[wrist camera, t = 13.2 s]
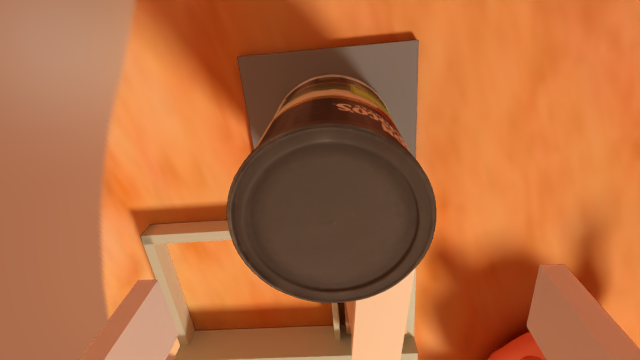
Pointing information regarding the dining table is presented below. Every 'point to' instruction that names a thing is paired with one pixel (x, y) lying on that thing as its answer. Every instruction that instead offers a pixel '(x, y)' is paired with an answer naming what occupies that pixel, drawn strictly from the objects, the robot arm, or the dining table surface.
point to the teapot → (519, 350)
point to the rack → (285, 342)
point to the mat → (353, 61)
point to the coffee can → (331, 196)
